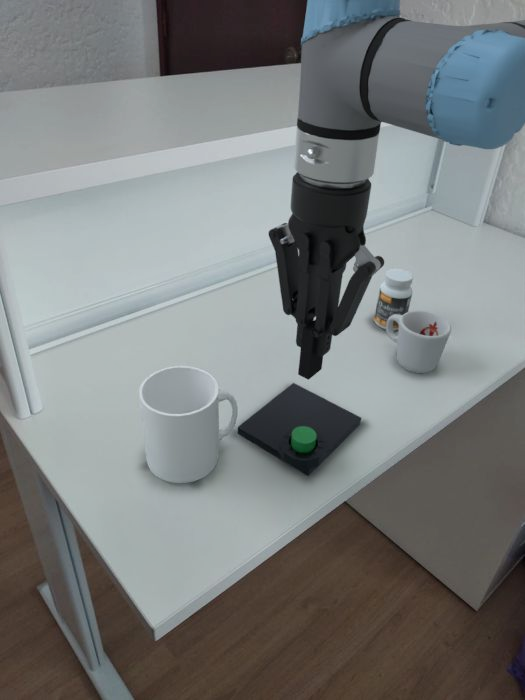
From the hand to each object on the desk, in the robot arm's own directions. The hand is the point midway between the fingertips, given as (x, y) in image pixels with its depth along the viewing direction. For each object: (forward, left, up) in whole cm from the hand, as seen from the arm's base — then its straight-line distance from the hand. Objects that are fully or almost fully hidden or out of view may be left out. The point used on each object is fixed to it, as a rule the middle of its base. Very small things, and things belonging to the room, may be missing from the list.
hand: (309, 371), depth 68 cm
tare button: (0, 0, -12) cm, 12 cm away
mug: (+11, +9, -15) cm, 21 cm away
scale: (+3, -4, -14) cm, 16 cm away
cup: (-1, -30, -15) cm, 33 cm away
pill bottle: (+7, -38, -15) cm, 41 cm away
